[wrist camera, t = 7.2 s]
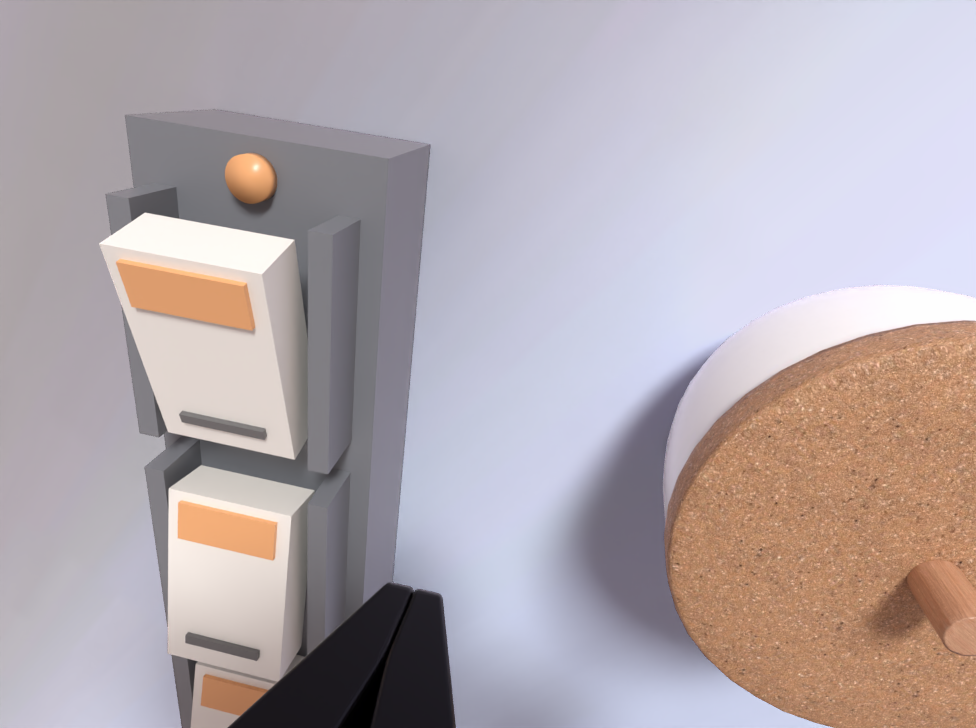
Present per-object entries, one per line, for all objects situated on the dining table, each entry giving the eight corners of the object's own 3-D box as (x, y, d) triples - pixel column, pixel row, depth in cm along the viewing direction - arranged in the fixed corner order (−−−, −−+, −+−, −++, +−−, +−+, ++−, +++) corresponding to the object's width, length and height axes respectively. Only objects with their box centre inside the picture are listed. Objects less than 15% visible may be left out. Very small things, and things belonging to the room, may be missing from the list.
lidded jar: (787, 579, 23) (898, 869, 14) (579, 401, 21) (565, 610, 13) (1085, 402, 18) (1501, 671, 10) (850, 158, 17) (1106, 231, 8)
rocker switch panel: (378, 748, 31) (334, 879, 26) (252, 715, 32) (184, 836, 27) (430, 144, 18) (362, 167, 13) (214, 109, 19) (68, 118, 14)
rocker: (318, 420, 18) (292, 463, 17) (199, 394, 18) (165, 435, 17) (294, 239, 14) (258, 277, 13) (144, 212, 14) (94, 246, 13)
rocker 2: (301, 645, 21) (276, 685, 19) (197, 620, 21) (164, 656, 19) (314, 490, 19) (288, 518, 17) (201, 465, 19) (165, 490, 17)
